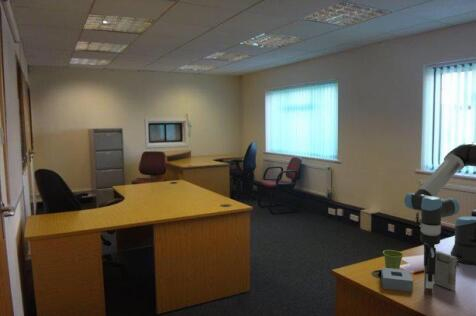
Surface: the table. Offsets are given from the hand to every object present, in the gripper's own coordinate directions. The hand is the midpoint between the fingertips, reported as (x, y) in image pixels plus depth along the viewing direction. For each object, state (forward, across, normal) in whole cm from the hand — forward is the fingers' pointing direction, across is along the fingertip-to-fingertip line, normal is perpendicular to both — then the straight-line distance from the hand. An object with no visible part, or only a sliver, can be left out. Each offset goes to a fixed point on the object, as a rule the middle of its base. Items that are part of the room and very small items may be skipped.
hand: (428, 285), depth 157 cm
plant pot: (+4, -23, -12) cm, 26 cm away
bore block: (+3, -6, -12) cm, 14 cm away
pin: (+3, 0, 0) cm, 3 cm away
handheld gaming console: (+4, -9, +8) cm, 13 cm away
